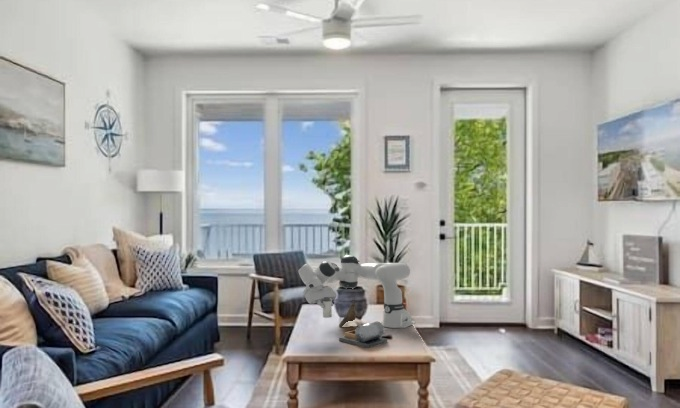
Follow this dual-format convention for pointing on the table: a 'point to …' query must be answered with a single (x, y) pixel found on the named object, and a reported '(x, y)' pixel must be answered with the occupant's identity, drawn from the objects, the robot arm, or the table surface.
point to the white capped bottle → (327, 308)
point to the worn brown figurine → (349, 315)
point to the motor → (365, 335)
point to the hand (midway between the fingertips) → (327, 306)
